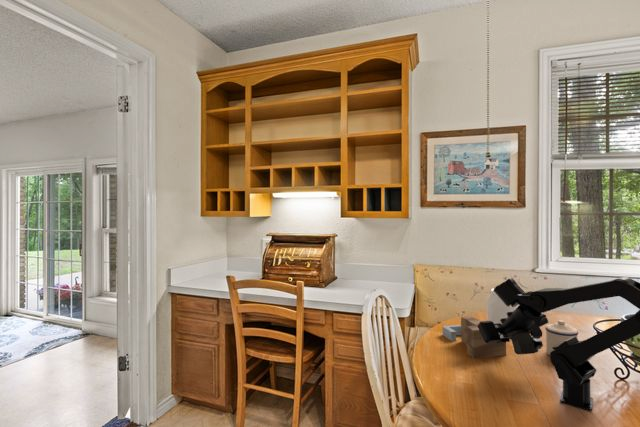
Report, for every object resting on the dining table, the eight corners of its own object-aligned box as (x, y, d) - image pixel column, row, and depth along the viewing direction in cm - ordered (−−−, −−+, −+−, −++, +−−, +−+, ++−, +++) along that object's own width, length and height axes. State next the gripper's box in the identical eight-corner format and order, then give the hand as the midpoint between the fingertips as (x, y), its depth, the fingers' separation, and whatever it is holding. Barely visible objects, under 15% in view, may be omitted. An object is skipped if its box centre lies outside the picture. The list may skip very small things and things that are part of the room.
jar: (485, 326, 144) (484, 291, 144) (488, 320, 152) (488, 286, 152) (516, 331, 138) (516, 294, 138) (518, 324, 146) (517, 289, 146)
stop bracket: (477, 338, 131) (477, 329, 131) (451, 341, 129) (451, 332, 129) (468, 332, 137) (467, 324, 137) (442, 334, 136) (442, 326, 136)
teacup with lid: (574, 363, 109) (574, 327, 109) (541, 354, 116) (541, 320, 116) (583, 352, 117) (583, 319, 117) (552, 345, 124) (552, 313, 123)
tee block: (506, 355, 116) (505, 327, 116) (473, 358, 114) (473, 330, 114) (480, 339, 130) (480, 315, 130) (451, 342, 128) (451, 317, 128)
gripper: (507, 348, 93) (482, 369, 104) (566, 342, 96) (536, 364, 107) (488, 311, 101) (467, 334, 112) (543, 307, 104) (518, 330, 115)
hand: (497, 341), depth 111 cm, fingers closed
